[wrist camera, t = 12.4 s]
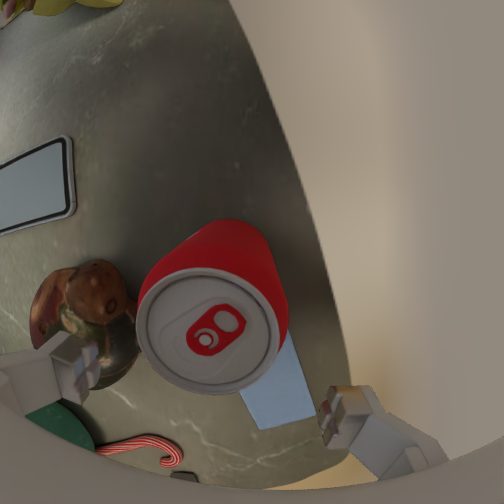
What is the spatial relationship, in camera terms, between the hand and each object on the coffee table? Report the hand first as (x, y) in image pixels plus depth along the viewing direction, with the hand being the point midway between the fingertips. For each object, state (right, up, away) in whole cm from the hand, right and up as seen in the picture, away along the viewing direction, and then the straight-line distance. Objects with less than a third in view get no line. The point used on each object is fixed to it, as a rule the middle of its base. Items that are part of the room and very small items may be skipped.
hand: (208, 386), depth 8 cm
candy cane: (-21, -24, +16) cm, 36 cm away
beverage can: (0, +4, +13) cm, 13 cm away
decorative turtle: (-12, -1, +14) cm, 18 cm away
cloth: (+3, -7, +15) cm, 17 cm away
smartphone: (-21, +10, +11) cm, 26 cm away
